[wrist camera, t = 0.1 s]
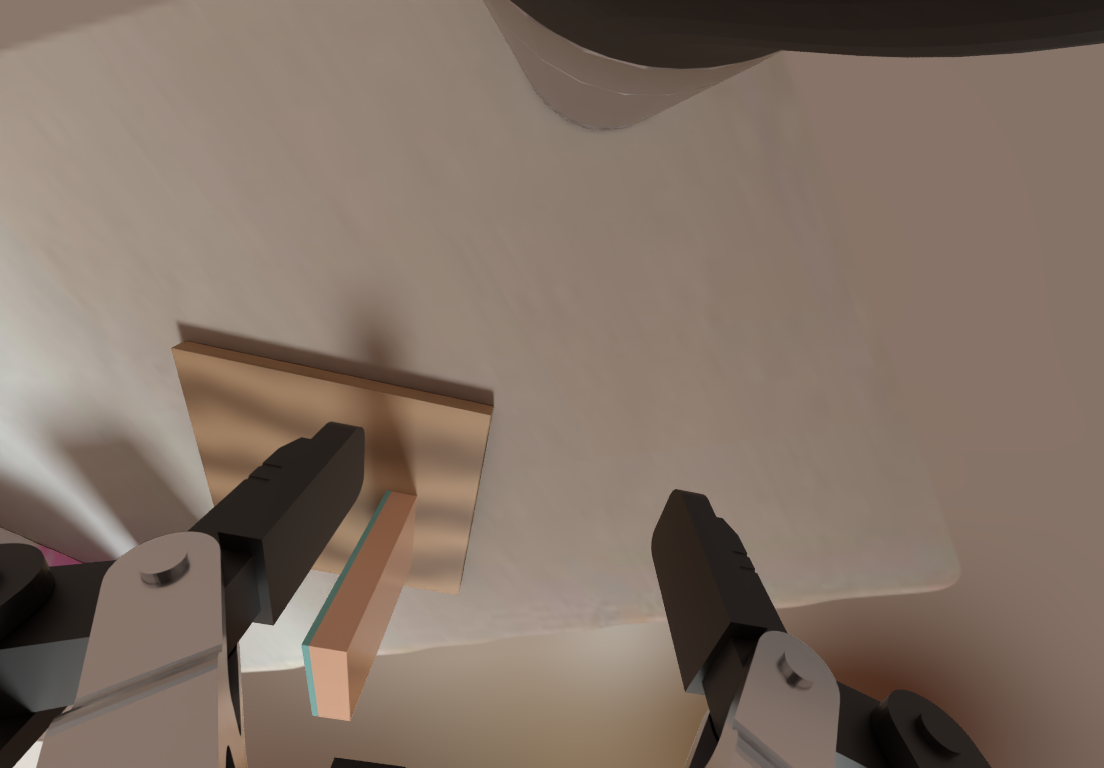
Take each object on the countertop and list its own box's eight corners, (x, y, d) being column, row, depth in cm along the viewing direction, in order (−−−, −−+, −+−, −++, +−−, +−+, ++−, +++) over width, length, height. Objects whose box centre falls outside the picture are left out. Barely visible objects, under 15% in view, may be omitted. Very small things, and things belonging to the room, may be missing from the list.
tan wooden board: (185, 340, 28) (171, 347, 27) (493, 406, 30) (490, 415, 29) (236, 543, 39) (227, 554, 38) (460, 583, 41) (457, 595, 40)
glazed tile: (386, 490, 33) (301, 644, 23) (417, 496, 33) (346, 652, 23) (384, 559, 37) (312, 715, 27) (411, 564, 38) (350, 720, 27)
